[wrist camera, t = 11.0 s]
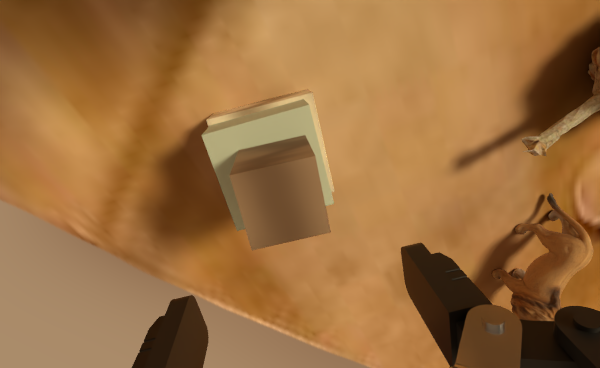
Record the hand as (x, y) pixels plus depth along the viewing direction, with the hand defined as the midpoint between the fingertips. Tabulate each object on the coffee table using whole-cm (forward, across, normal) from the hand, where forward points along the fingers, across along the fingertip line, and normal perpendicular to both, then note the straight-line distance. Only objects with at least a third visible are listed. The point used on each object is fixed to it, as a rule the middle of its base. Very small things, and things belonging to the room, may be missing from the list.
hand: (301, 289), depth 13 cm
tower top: (+18, +1, 0) cm, 18 cm away
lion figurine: (+22, -24, +19) cm, 38 cm away
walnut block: (+14, 0, 0) cm, 14 cm away
